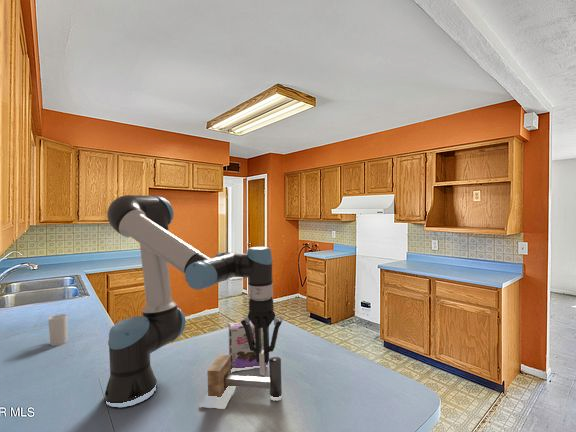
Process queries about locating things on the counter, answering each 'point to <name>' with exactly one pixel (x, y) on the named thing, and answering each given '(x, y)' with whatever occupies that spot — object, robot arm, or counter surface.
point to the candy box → (242, 346)
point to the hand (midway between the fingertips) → (263, 372)
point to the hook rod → (260, 379)
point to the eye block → (218, 375)
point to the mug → (58, 329)
